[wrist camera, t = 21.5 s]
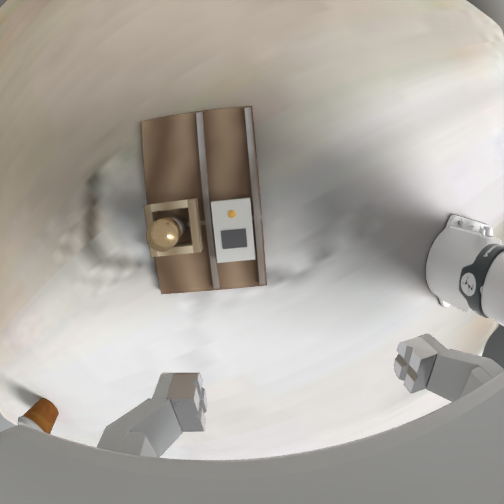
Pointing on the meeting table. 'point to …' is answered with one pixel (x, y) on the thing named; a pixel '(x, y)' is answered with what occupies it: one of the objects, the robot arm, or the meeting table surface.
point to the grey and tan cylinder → (166, 232)
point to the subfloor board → (204, 191)
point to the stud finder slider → (233, 230)
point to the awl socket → (195, 226)
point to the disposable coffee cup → (40, 416)
